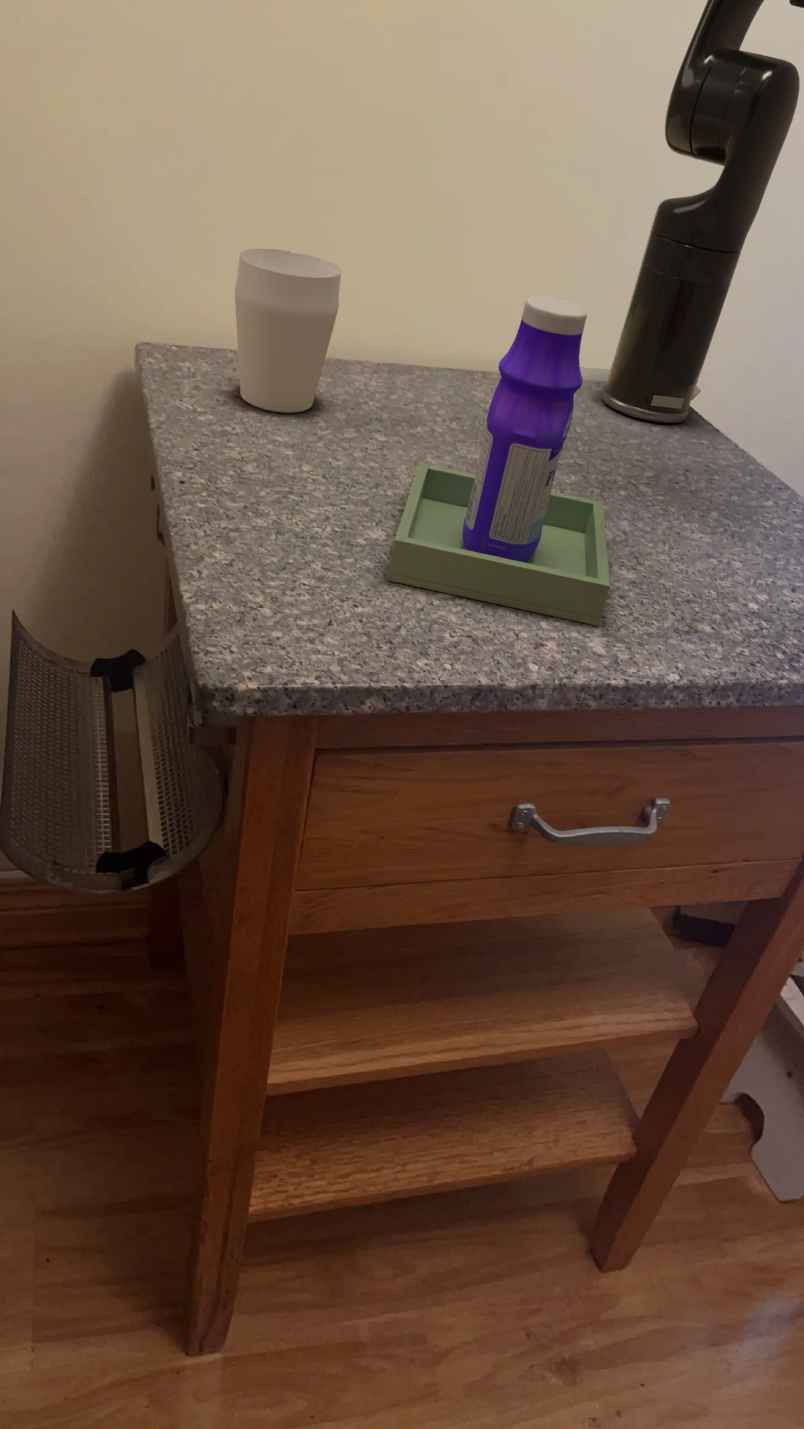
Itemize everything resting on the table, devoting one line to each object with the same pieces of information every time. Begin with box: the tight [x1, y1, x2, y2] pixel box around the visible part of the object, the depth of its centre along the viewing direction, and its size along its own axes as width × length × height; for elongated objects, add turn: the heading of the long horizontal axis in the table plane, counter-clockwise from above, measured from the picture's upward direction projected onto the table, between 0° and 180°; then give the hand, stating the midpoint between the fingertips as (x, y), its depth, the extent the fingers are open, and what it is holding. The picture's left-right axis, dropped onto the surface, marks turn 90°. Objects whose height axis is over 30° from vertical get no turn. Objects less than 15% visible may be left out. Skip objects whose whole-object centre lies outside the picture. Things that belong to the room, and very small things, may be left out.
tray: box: [386, 462, 611, 626], centre depth 75 cm, size 15×15×3 cm
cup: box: [234, 248, 342, 414], centre depth 92 cm, size 9×9×12 cm
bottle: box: [463, 296, 588, 563], centre depth 71 cm, size 7×6×17 cm
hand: (753, 0), depth 72 cm, fingers open, 8 cm apart
